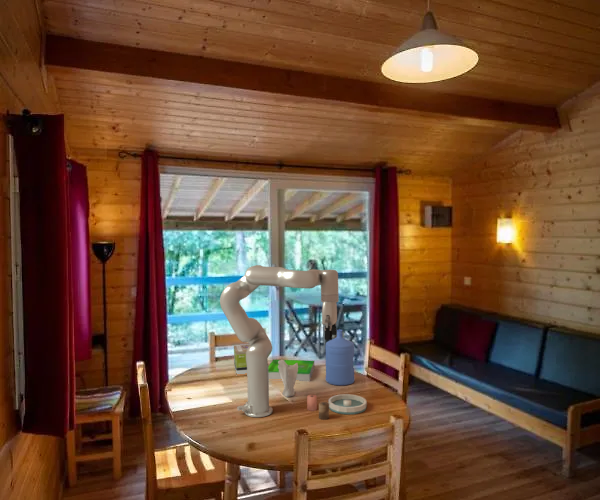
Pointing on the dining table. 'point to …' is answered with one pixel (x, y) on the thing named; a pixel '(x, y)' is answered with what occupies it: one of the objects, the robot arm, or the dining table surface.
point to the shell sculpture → (288, 377)
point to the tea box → (240, 358)
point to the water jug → (339, 360)
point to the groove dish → (347, 404)
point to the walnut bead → (323, 411)
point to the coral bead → (312, 402)
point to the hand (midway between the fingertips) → (330, 337)
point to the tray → (303, 366)
